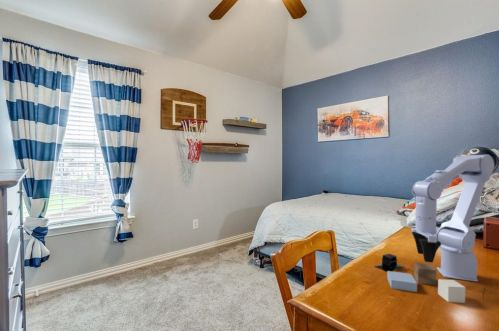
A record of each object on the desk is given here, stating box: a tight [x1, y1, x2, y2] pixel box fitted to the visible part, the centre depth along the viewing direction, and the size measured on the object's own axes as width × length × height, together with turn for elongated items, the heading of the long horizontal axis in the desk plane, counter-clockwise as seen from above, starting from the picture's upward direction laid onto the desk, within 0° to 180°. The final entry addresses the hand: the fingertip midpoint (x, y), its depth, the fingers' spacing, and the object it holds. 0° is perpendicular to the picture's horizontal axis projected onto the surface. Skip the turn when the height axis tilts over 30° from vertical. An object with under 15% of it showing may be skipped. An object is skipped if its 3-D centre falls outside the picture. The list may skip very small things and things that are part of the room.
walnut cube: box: [413, 262, 437, 287], centre depth 86 cm, size 5×5×5 cm
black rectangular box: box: [373, 253, 406, 273], centre depth 97 cm, size 13×8×5 cm, turn 118°
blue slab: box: [386, 271, 418, 293], centre depth 83 cm, size 7×7×3 cm
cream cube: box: [437, 278, 466, 304], centre depth 75 cm, size 4×4×4 cm
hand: (425, 257), depth 86 cm, fingers open, 7 cm apart
